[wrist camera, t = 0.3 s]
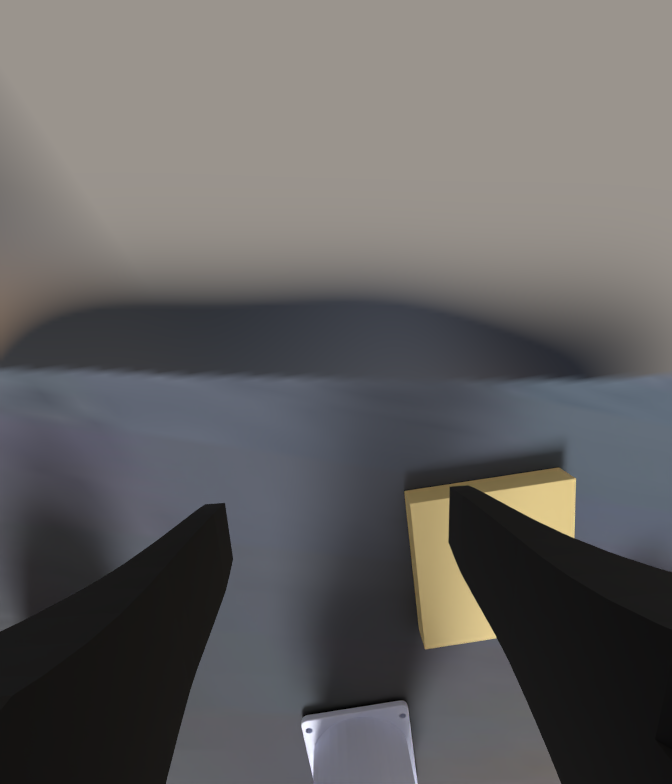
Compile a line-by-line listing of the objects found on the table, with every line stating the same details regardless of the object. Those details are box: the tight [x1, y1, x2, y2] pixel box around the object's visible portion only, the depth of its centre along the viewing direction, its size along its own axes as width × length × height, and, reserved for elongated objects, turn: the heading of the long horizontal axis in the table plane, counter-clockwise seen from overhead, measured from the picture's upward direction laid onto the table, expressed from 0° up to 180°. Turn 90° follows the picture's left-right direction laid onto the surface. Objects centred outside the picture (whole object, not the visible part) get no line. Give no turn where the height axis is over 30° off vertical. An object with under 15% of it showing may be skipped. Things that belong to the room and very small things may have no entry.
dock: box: [404, 467, 576, 649], centre depth 23 cm, size 11×10×2 cm
